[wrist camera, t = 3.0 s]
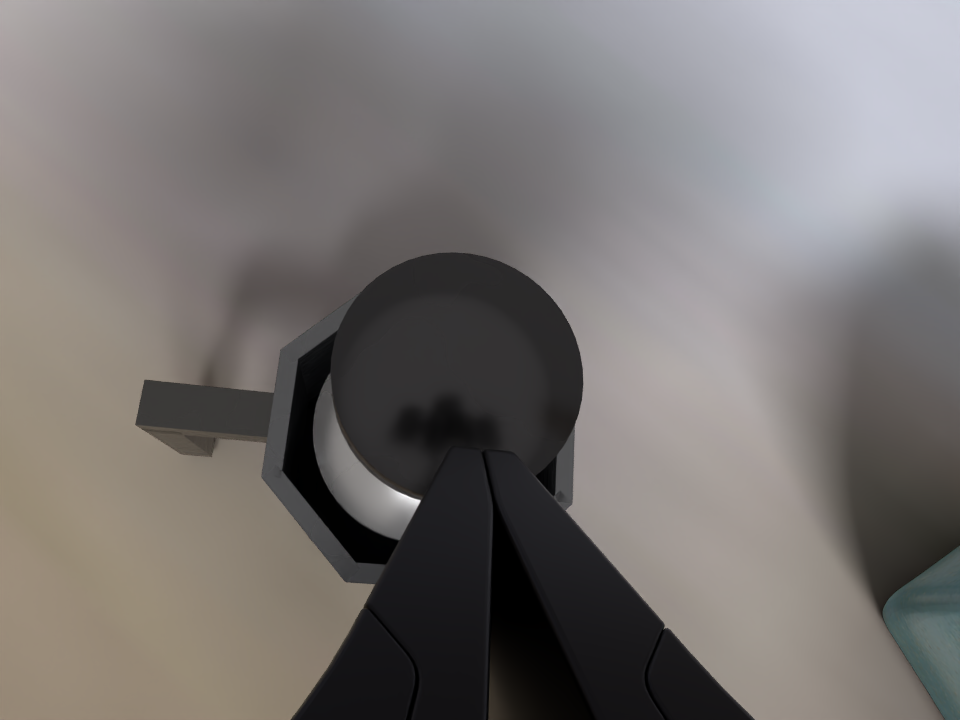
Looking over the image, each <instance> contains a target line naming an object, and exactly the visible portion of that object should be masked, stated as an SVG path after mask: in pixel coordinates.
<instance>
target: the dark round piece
mask: <svg viewBox="0 0 960 720" xmlns="http://www.w3.org/2000/svg"><path fill="white" fill-rule="evenodd" d="M582 391H583V368H582V362H581V356H580V351H579V348H578V345H577V341H576V338H575V336H574V334H573V331H572V329H571V327H570V325H569V323H568V321H567V319H566V318H565V316H564V314H563V313H562V311H561V309H560V308H559V307H558V306H557V304H556V303H555V302H554V300H553V299H552V298H551V297H550V296H549V295H548V294H547V293H546V292H545V291H544V290H543V289H542V288H541V287H540V286H539V285H538V284H536V283H535V282H534V281H533V280H531V279H530V278H529V277H528V276H526V275H524V274H523V273H521V272H519V271H518V270H516V269H515V268H513V267H510V266H508V265H506V264H504V263H502V262H499V261H496V260H493V259H490V258H487V257H483V256H478V255H473V254H466V253H437V254H432V255H426V256H421V257H418V258H415V259H411V260H408V261H406V262H404V263H401V264H399V265H397V266H395V267H393V268H391V269H389V270H388V271H386V272H385V273H383V274H381V275H380V276H379V277H377V278H376V279H375V280H374V281H372V282H371V283H370V284H369V285H368V286H367V287H366V288H365V289H364V290H363V291H362V292H361V293H360V294H359V295H358V296H357V297H356V299H355V300H354V302H353V303H352V305H351V306H350V307H349V309H348V310H347V312H346V314H345V316H344V318H343V320H342V322H341V324H340V326H339V329H338V332H337V335H336V338H335V341H334V346H333V351H332V356H331V372H330V374H329V375H328V377H327V379H326V381H325V383H324V385H323V387H322V389H321V392H320V395H319V398H318V400H317V404H316V409H315V414H314V422H313V441H314V449H315V454H316V459H317V463H318V466H319V469H320V471H321V474H322V477H323V479H324V481H325V483H326V485H327V487H328V489H329V491H330V493H331V494H332V495H333V497H334V498H335V500H336V501H337V503H338V504H339V505H340V506H341V507H342V508H343V509H344V510H345V511H346V512H347V513H348V514H349V515H350V516H351V517H352V518H353V519H355V520H356V521H357V522H358V523H360V524H361V525H363V526H364V527H366V528H368V529H369V530H371V531H373V532H375V533H377V534H380V535H382V536H384V537H387V538H390V539H394V540H397V541H399V540H400V538H401V536H402V535H403V533H404V531H405V529H406V527H407V525H408V523H409V522H410V520H411V518H412V516H413V514H414V512H415V511H416V509H417V507H418V505H419V503H420V501H421V500H422V498H423V496H424V494H425V492H426V490H427V488H428V487H429V485H430V483H431V481H432V479H433V477H434V476H435V474H436V472H437V470H438V468H439V466H440V464H441V463H442V461H443V459H444V457H445V455H446V453H447V452H448V450H449V448H450V447H451V446H465V447H475V448H479V449H480V450H481V451H482V452H483V451H484V450H485V449H495V450H505V451H512V452H514V453H515V454H516V455H517V456H518V457H519V458H520V460H521V461H522V462H523V463H524V464H525V465H526V466H527V468H528V469H529V470H530V471H531V472H532V473H533V474H534V476H536V475H537V474H538V473H539V472H541V471H542V470H543V469H544V468H545V467H546V466H547V465H548V464H549V463H550V462H551V461H552V460H553V459H554V458H555V457H556V456H557V454H558V453H559V452H560V450H561V449H562V448H563V446H564V445H565V443H566V441H567V439H568V438H569V436H570V434H571V432H572V430H573V428H574V425H575V422H576V420H577V417H578V414H579V409H580V405H581V401H582Z"/></svg>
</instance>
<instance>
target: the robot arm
mask: <svg viewBox="0 0 960 720" xmlns="http://www.w3.org/2000/svg"><path fill="white" fill-rule="evenodd" d="M664 627H665V625H664V623H663V621H662V620H661V619H660V618H659V617H658V616H657V615H656V613H655V612H654V611H653V610H652V609H651V608H650V607H649V605H648V604H647V603H646V602H645V601H644V600H643V599H642V597H641V596H640V595H639V594H638V593H637V592H636V591H635V589H634V588H633V587H632V586H631V585H630V584H629V583H628V581H627V580H626V579H625V578H624V577H623V576H622V575H621V574H620V572H619V571H618V570H617V569H616V568H615V567H614V566H613V564H612V563H611V562H610V561H609V560H608V559H607V558H606V556H605V555H604V554H603V553H602V552H601V551H600V550H599V548H598V547H597V546H596V545H595V544H594V543H593V542H592V540H591V539H590V538H589V537H588V536H587V535H586V534H585V532H584V531H583V530H582V529H581V528H580V527H579V526H578V525H577V523H576V522H575V521H574V520H573V519H572V518H571V517H570V515H569V514H568V513H567V512H566V511H565V510H564V509H563V507H562V506H561V505H560V504H559V503H558V502H557V501H556V499H555V498H554V497H553V496H552V495H551V494H550V493H549V491H548V490H547V489H546V488H545V487H544V486H543V485H542V484H541V482H540V481H539V480H538V479H537V478H536V477H535V476H534V474H533V473H532V472H531V471H530V470H529V469H528V468H527V466H526V465H525V464H524V463H523V462H522V461H521V460H520V458H519V457H518V456H517V455H516V454H515V453H514V452H512V451H505V450H495V449H485V450H484V451H483V452H482V451H481V450H480V449H479V448H475V447H465V446H451V447H450V448H449V450H448V452H447V453H446V455H445V457H444V459H443V461H442V463H441V464H440V466H439V468H438V470H437V472H436V474H435V476H434V477H433V479H432V481H431V483H430V485H429V487H428V488H427V490H426V492H425V494H424V496H423V498H422V500H421V501H420V503H419V505H418V507H417V509H416V511H415V512H414V514H413V516H412V518H411V520H410V522H409V523H408V525H407V527H406V529H405V531H404V533H403V535H402V536H401V538H400V540H399V542H398V544H397V546H396V547H395V549H394V551H393V553H392V555H391V557H390V559H389V560H388V562H387V564H386V566H385V568H384V570H383V571H382V573H381V575H380V577H379V579H378V581H377V583H376V584H375V586H374V588H373V590H372V592H371V594H370V595H369V597H368V599H367V601H366V603H365V605H364V608H363V609H362V610H361V611H360V613H359V615H358V617H357V619H356V620H355V622H354V624H353V626H352V628H351V630H350V631H349V633H348V635H347V637H346V638H345V640H344V642H343V643H342V645H341V647H340V648H339V650H338V652H337V653H336V655H335V657H334V658H333V660H332V662H331V663H330V665H329V667H328V668H327V670H326V671H325V672H324V674H323V675H322V677H321V678H320V680H319V681H318V682H317V684H316V685H315V687H314V688H313V690H312V691H311V692H310V694H309V695H308V697H307V698H306V700H305V701H304V702H303V704H302V705H301V707H300V708H299V709H298V711H297V712H296V713H295V715H294V716H293V717H292V719H291V720H755V719H754V718H753V717H752V716H751V715H750V714H749V713H748V712H747V711H746V710H745V709H744V708H743V707H742V706H741V705H740V704H739V703H738V702H737V701H736V700H735V699H734V698H733V697H732V696H731V695H730V694H729V693H728V692H727V691H726V690H725V689H724V688H723V687H722V686H721V685H720V684H719V683H718V682H717V681H716V680H715V679H714V678H713V677H712V676H711V675H710V673H709V672H708V671H707V670H706V669H705V668H704V667H703V666H702V665H701V664H700V663H699V662H698V660H697V659H696V658H695V657H694V656H693V655H692V654H691V653H690V652H689V651H688V649H687V648H686V647H685V646H684V645H683V644H682V643H681V642H680V640H679V639H678V638H677V637H676V636H675V635H674V634H673V632H672V631H671V630H670V629H668V628H665V629H664ZM663 629H664V630H663Z"/></svg>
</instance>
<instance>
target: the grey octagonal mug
mask: <svg viewBox="0 0 960 720" xmlns="http://www.w3.org/2000/svg"><path fill="white" fill-rule="evenodd" d="M360 293H361V292H360ZM360 293H359V294H360ZM359 294H358V295H359ZM358 295H356V296H355V297H354V298H352V299H351V300H349V301H348V302H347V303H345V304H344V305H342V306H341V307H340V308H338V309H337V310H335V311H334V312H333V313H331V314H330V315H328V316H327V317H326V318H324V319H323V320H321V321H320V322H319V323H317V324H316V325H314V326H313V327H312V328H310V329H309V330H307V331H306V332H305V333H303V334H302V335H300V336H299V337H298V338H296V339H295V340H293V341H292V342H291V343H289V344H288V345H287V346H285V347H284V348H282V349H281V352H280V358H279V365H278V371H277V378H276V384H275V391H274V393H268V392H258V391H249V390H239V389H229V388H219V387H210V386H200V385H190V384H181V383H171V382H161V381H152V380H145V381H144V385H143V390H142V395H141V400H140V405H139V410H138V414H137V419H136V424H135V425H136V426H138V427H139V428H141V429H142V430H144V431H146V432H147V433H149V434H150V435H152V436H153V437H155V438H157V439H158V440H160V441H161V442H163V443H164V444H166V445H168V446H169V447H171V448H172V449H174V450H175V451H177V452H179V453H180V454H184V455H195V456H207V457H212V453H213V447H214V441H215V438H222V439H233V440H243V441H254V442H265V443H266V450H265V456H264V463H263V469H262V476H261V477H262V479H263V480H264V481H265V482H266V484H267V485H268V486H269V487H270V489H271V490H272V491H273V492H274V494H275V495H276V496H277V497H278V499H279V500H280V501H281V502H282V504H283V505H284V506H285V507H286V509H287V510H288V511H289V512H290V514H291V515H292V516H293V517H294V519H295V520H296V521H297V522H298V524H299V525H300V526H301V527H302V529H303V530H304V531H305V532H306V534H307V535H308V536H309V538H310V539H311V540H312V541H313V542H314V544H315V545H316V546H317V547H318V549H319V550H320V551H321V552H322V554H323V555H324V556H325V557H326V559H327V560H328V561H329V562H330V564H331V565H332V566H333V567H334V569H335V570H336V571H337V572H338V574H339V575H340V576H341V577H342V578H343V580H344V581H345V582H351V583H366V584H376V583H377V581H378V579H379V577H380V575H381V573H382V571H383V570H384V568H385V566H386V564H387V562H388V560H389V559H390V557H391V555H392V553H393V551H394V549H395V547H396V546H397V544H398V542H399V541H397V540H394V539H390V538H387V537H384V536H382V535H380V534H377V533H375V532H373V531H371V530H369V529H368V528H366V527H364V526H363V525H361V524H360V523H358V522H357V521H356V520H355V519H353V518H352V517H351V516H350V515H349V514H348V513H347V512H346V511H345V510H344V509H343V508H342V507H341V506H340V505H339V504H338V503H337V501H336V500H335V498H334V497H333V495H332V494H331V493H330V491H329V489H328V487H327V485H326V483H325V481H324V479H323V477H322V474H321V471H320V469H319V466H318V463H317V459H316V454H315V449H314V441H313V422H314V414H315V409H316V404H317V400H318V398H319V395H320V392H321V389H322V387H323V385H324V383H325V381H326V379H327V377H328V375H329V374H330V372H331V356H332V351H333V346H334V341H335V338H336V335H337V332H338V329H339V326H340V324H341V322H342V320H343V318H344V316H345V314H346V312H347V310H348V309H349V307H350V306H351V305H352V303H353V302H354V300H355V299H356V297H357V296H358ZM574 433H575V425H574V428H573V430H572V432H571V434H570V436H569V438H568V439H567V441H566V443H565V445H564V446H563V448H562V449H561V450H560V452H559V453H558V454H557V456H556V457H555V458H554V459H553V460H552V461H551V462H550V463H549V464H548V465H547V466H546V467H545V468H544V469H543V470H542V471H541V472H539V473H538V474H537V475H536V476H535V477H536V478H537V479H538V480H539V481H540V482H541V484H542V485H543V486H544V487H545V488H546V489H547V490H548V491H549V493H550V494H551V495H552V496H553V497H554V498H555V499H556V501H557V502H558V503H559V504H560V505H561V506H562V507H563V509H564V510H566V509H567V508H568V507H569V506H571V505H572V499H573V466H574Z"/></svg>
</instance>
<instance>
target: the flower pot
mask: <svg viewBox="0 0 960 720" xmlns="http://www.w3.org/2000/svg"><path fill="white" fill-rule="evenodd" d="M883 619H884V621H885V624H886V626H887V628H888V629H889V631H890V633H891V634H892V636H893V637H894V639H895V641H896V642H897V644H898V645H899V647H900V648H901V650H902V652H903V653H904V655H905V656H906V658H907V659H908V661H909V663H910V664H911V666H912V667H913V669H914V670H915V672H916V674H917V675H918V677H919V678H920V680H921V681H922V683H923V685H924V686H925V688H926V689H927V691H928V693H929V694H930V696H931V697H932V699H933V701H934V702H935V704H936V706H937V707H938V709H939V710H940V712H941V714H942V715H943V717H944V719H945V720H960V546H958V547H957V548H956V549H954V550H953V551H952V552H950V553H949V554H947V555H946V556H945V557H943V558H942V559H941V560H939V561H938V562H937V563H935V564H934V565H933V566H931V567H930V568H928V569H927V570H926V571H924V572H923V573H922V574H920V575H919V576H917V577H916V578H915V579H913V580H912V581H910V582H909V583H907V584H906V585H904V586H903V587H902V588H900V589H899V590H898V591H896V592H895V593H894V594H893V595H892V596H891V597H890V598H889V599H888V601H887V602H886V604H885V606H884V608H883Z"/></svg>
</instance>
